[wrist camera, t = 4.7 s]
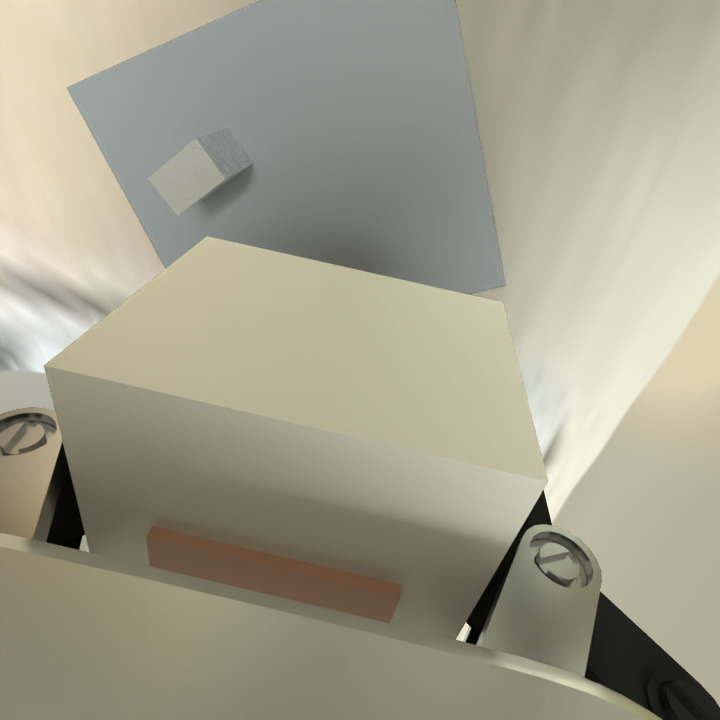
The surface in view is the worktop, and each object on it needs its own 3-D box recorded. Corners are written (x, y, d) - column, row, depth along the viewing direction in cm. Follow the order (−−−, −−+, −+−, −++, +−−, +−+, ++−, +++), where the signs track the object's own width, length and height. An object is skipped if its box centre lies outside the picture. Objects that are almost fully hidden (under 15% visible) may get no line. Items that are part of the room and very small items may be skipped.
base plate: (440, -73, 20) (440, -82, 19) (502, 275, 28) (505, 285, 26) (85, 86, 25) (66, 87, 24) (220, 340, 33) (211, 352, 32)
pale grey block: (228, 127, 24) (195, 138, 21) (252, 163, 25) (225, 179, 21) (184, 162, 25) (147, 178, 22) (209, 196, 26) (177, 215, 23)
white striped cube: (503, 302, 10) (551, 493, 6) (426, 500, 14) (419, 711, 9) (207, 235, 10) (32, 374, 6) (208, 449, 14) (101, 633, 9)
